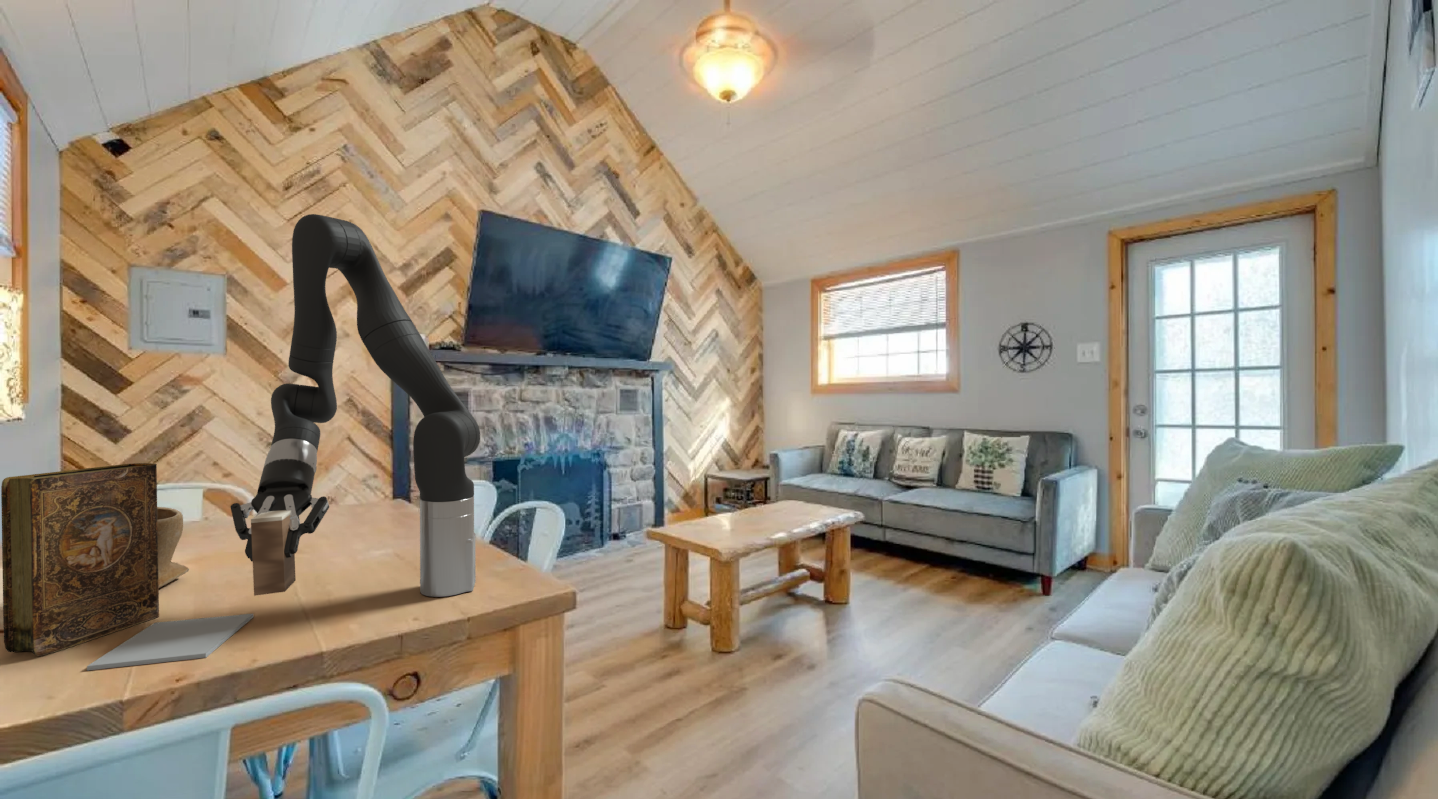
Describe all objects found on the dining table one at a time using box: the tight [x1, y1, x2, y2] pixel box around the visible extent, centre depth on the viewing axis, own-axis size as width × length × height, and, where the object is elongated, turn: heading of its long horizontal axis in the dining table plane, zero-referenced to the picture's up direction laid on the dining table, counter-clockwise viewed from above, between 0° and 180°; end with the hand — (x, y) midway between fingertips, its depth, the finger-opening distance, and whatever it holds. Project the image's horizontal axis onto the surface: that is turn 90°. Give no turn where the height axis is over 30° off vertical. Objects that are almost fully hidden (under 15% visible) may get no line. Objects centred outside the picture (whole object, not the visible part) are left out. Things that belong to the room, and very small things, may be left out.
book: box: [0, 462, 160, 657], centre depth 90 cm, size 16×6×25 cm, turn 168°
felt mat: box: [86, 613, 254, 671], centre depth 88 cm, size 13×15×1 cm
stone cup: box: [157, 506, 190, 589], centre depth 110 cm, size 15×12×15 cm
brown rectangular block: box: [250, 510, 297, 597], centre depth 96 cm, size 4×6×12 cm, turn 22°
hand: (270, 556), depth 94 cm, fingers closed on brown rectangular block, 4 cm apart
